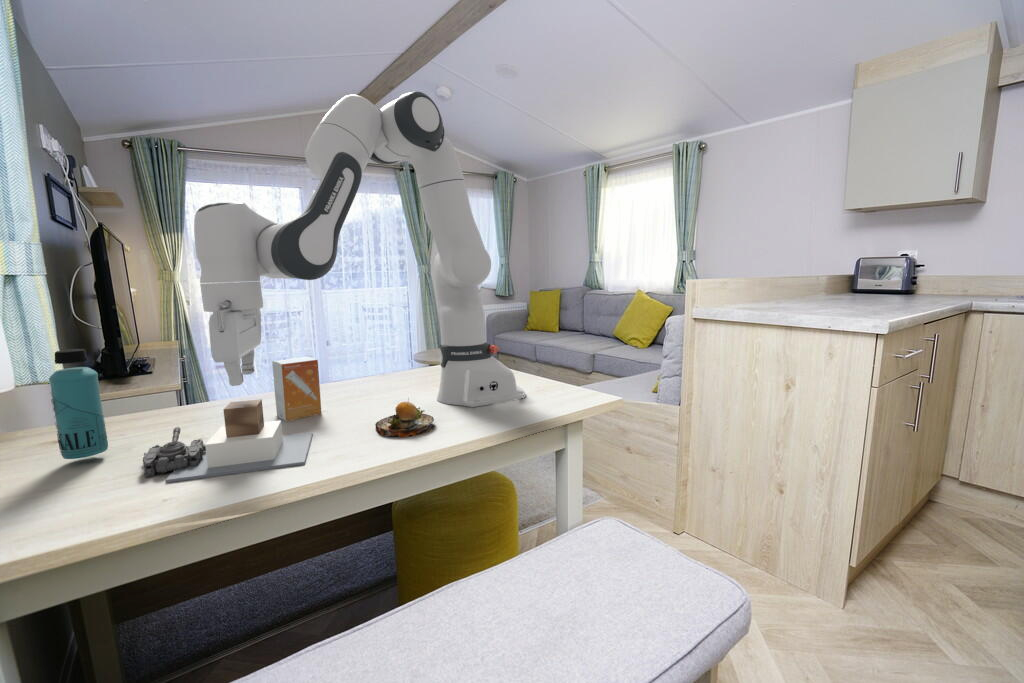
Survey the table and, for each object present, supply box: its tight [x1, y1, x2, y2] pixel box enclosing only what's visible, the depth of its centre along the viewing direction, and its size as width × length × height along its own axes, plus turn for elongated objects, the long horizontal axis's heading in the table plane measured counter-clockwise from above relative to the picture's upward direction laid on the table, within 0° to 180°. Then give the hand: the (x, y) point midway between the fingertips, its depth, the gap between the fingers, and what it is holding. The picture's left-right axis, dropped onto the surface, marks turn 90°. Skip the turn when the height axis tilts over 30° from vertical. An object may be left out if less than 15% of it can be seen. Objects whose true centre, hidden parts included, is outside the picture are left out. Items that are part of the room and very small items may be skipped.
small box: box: [271, 356, 322, 422], centre depth 108 cm, size 8×6×13 cm
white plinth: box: [204, 419, 284, 468], centre depth 84 cm, size 10×10×4 cm
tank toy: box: [142, 426, 206, 478], centre depth 82 cm, size 12×10×5 cm
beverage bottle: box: [48, 348, 109, 460], centre depth 82 cm, size 6×7×20 cm
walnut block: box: [223, 398, 265, 438], centre depth 83 cm, size 5×5×5 cm
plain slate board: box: [165, 432, 314, 484], centre depth 84 cm, size 20×16×1 cm
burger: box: [375, 397, 436, 438], centre depth 97 cm, size 12×12×8 cm
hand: (243, 379), depth 82 cm, fingers open, 8 cm apart
